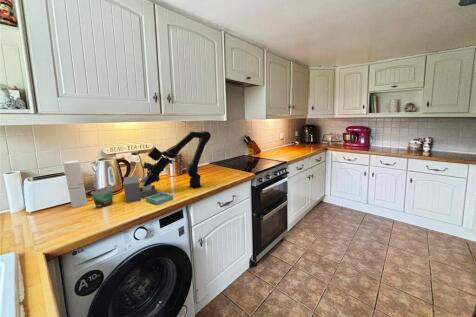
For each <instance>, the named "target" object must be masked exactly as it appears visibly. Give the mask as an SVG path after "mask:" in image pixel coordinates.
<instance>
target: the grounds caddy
mask: <svg viewBox="0 0 476 317" xmlns="http://www.w3.org/2000/svg"><path fill="white" fill-rule="evenodd" d="M147 179H148V177H147V176H142V177H140V181H141V186H142V189H143V191H148V190H152V189H151V186H152V183H151V184H149V185H147V186H144V184H145V182H146V181H147Z"/></svg>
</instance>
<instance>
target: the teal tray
mask: <svg viewBox="0 0 476 317" xmlns="http://www.w3.org/2000/svg"><path fill="white" fill-rule="evenodd" d="M145 200H146V203H149V204H151V205H152V204H153V205H154V206H160V205H162V204H165V203H168V202H169V201H172V200H174V195H173V194H170V193H168V192H163V191H161V192H157V194H154V195H152V196H149V197H146V198H145Z"/></svg>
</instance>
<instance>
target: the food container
mask: <svg viewBox="0 0 476 317" xmlns="http://www.w3.org/2000/svg"><path fill="white" fill-rule="evenodd" d="M113 190H114V187H113V186H112V184H107V185H106V186H105V187H104V186H103V187H100V188H99V189H97V190H91V196H92V199H93V202H94V205H95V208H96V209H99V208H101V209H102V208H105V207H110V206H111V205H112V204H113Z"/></svg>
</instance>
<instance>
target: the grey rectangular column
mask: <svg viewBox="0 0 476 317" xmlns="http://www.w3.org/2000/svg"><path fill="white" fill-rule="evenodd" d="M62 165H63V167H64V168H63V169H64V174H65V179H66V183H67V188H68V195H69V199H70V206H71V208H81V207H84V206H86V205H87V204H88V201H87V196H86V195H87V194H86V190H85V189H86V188H85V183H84V178H83V172H82V167H81V161H80V160H68V161H64V162H63V164H62Z"/></svg>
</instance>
